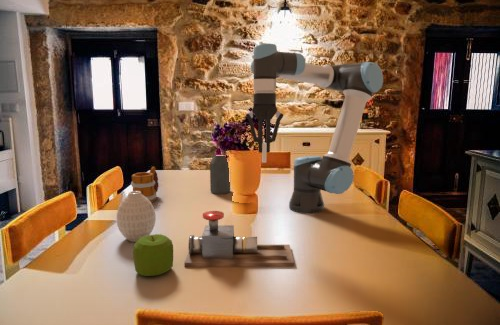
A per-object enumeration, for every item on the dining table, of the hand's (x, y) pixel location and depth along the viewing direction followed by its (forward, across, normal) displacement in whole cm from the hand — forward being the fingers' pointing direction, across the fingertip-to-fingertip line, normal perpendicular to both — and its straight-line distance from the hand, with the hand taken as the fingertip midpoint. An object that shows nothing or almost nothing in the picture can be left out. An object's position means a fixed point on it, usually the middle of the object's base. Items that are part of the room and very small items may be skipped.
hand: (264, 161), depth 127 cm
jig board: (+26, +8, +18) cm, 33 cm away
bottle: (+27, +20, -57) cm, 66 cm away
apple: (+27, +32, +28) cm, 50 cm away
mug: (+27, +54, -44) cm, 74 cm away
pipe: (+25, +8, +19) cm, 32 cm away
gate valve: (+25, +17, +19) cm, 36 cm away
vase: (+27, +44, +4) cm, 52 cm away
